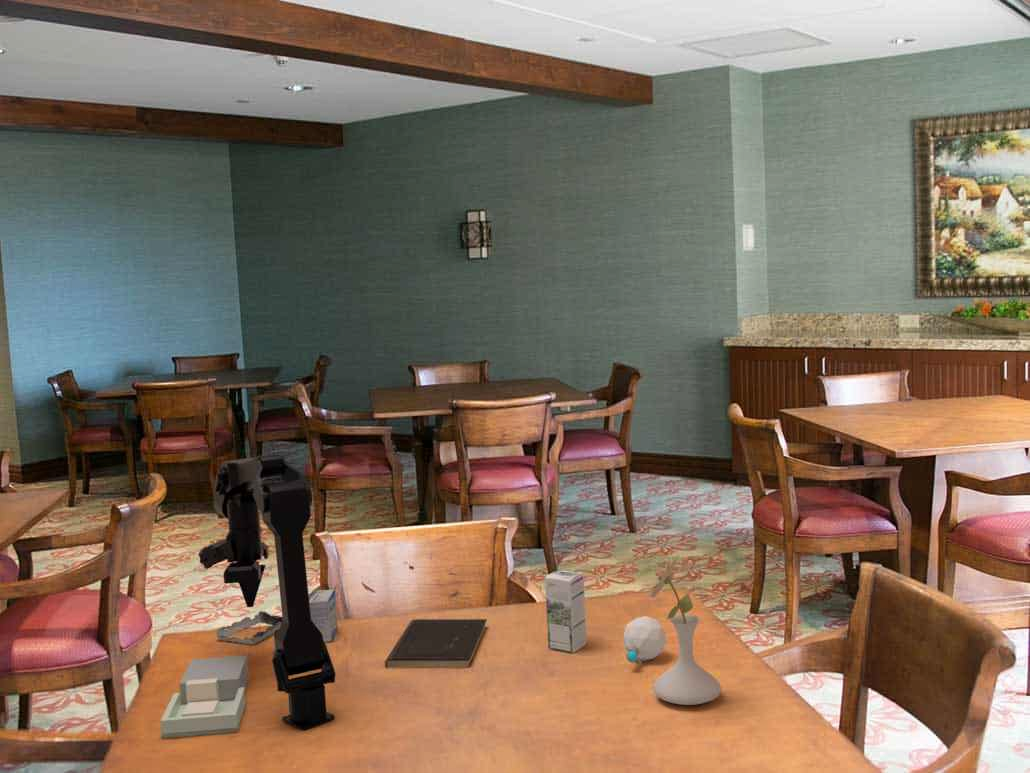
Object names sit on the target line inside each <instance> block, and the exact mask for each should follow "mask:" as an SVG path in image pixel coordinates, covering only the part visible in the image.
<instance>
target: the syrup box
mask: <svg viewBox="0 0 1030 773" xmlns="http://www.w3.org/2000/svg"><path fill="white" fill-rule="evenodd" d="M544 587H545V588H544V589H545V603H546V604H545V605H546V606H545V607H546V608H545V610H546V628H547V648H548V649H549V650H553V651H554V650H555V651H561V652H567V653H571V654H574V653H576V652H577V651H579V650H580V649H582V648H583V647H585V646H586V645H587V641H588V640H587V627H586V623H587V622H586V603H585V599H586V598H585V595H586V594H585V576H584V573H583V572H578V571H577V572H576V571H571V570H570V571H569V570H563V569H557V570H555V571H552V572H551V573H549V574H547V575H546V576H545V577H544Z"/></svg>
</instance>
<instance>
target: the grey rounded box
mask: <svg viewBox="0 0 1030 773" xmlns="http://www.w3.org/2000/svg"><path fill="white" fill-rule="evenodd" d="M213 678H218V689H219V702H220V701H232V700H235V698H236V695H237V692H238V689H239V688H241V687H245V689H246V688H247V685H248V682H249V666H248V655H247V654H245V655H242V654H241V655H232V656H221V657H219V656H218V657H207V658H206V657H205V658H195V659H193V658H192V659H190V662H189V664H188V666H187V667H186V670H185V672H184V674H183V676H182V678H181V680H180V682H179V693H180V700H181V705H185V704H187V695H186V683H187V681H189V680H201V679H213Z"/></svg>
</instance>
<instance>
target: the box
mask: <svg viewBox="0 0 1030 773" xmlns="http://www.w3.org/2000/svg"><path fill="white" fill-rule="evenodd" d="M246 705H247V701H246V688H245V687H241V688H239V689H238V692H237V695H236V698H235V700H232V701H220V707H219V713H218V714H208V715H196V716H185V717H182V714H183V712H184V710H185V708H186V706H187V704H185V705H181V695H180V692H173V694H172V696H171V699H170V700H169V702H168V704H167V707H166V709H165V710H164V713H163V714H162V717H161V719H160V722H159V723H160V733H161V734H160V735H161V739H171V738H186V737H196V736H197V737H198V736H207V735H216V734H217V735H218V734H219V735H221V734H231V733H238V730H239V727H240V724H241V721H242V718H243V714H244V711H245V709H246Z"/></svg>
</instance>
